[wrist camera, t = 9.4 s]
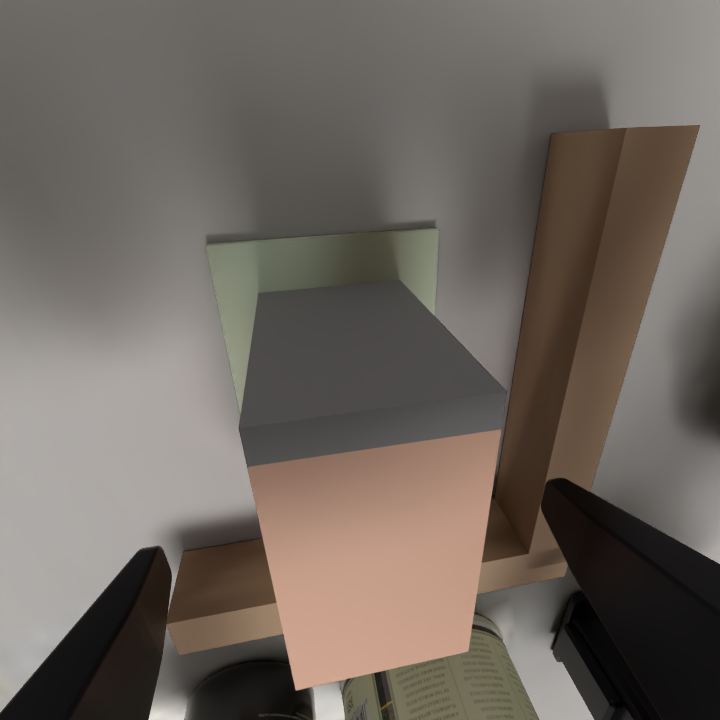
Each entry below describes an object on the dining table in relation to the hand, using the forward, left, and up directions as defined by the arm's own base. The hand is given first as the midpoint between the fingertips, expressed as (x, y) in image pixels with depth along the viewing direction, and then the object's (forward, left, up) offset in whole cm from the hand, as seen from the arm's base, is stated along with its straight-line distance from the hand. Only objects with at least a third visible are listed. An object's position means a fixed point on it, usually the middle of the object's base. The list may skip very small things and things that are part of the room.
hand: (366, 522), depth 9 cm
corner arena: (-1, +1, -6) cm, 6 cm away
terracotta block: (0, 0, -6) cm, 6 cm away
